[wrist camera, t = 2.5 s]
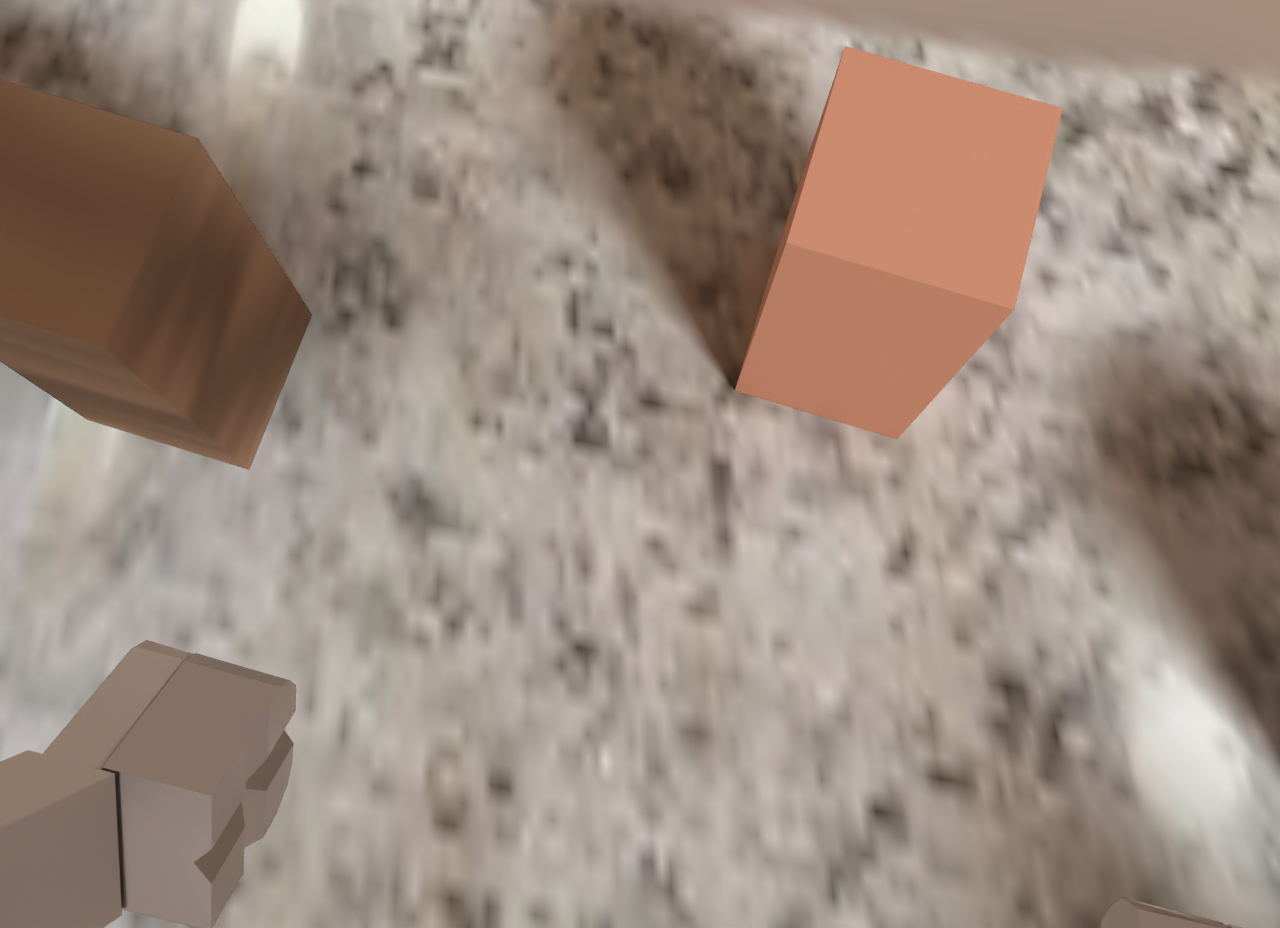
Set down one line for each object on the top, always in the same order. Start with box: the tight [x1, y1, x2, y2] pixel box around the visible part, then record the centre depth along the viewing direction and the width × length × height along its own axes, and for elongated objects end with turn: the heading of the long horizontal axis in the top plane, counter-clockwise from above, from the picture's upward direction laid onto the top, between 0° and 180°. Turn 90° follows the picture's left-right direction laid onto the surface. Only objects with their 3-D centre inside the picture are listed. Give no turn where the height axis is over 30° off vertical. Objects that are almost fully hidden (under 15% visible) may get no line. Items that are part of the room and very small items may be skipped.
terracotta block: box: [735, 46, 1062, 439], centre depth 27 cm, size 4×4×9 cm
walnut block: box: [0, 80, 312, 469], centre depth 26 cm, size 4×4×9 cm
